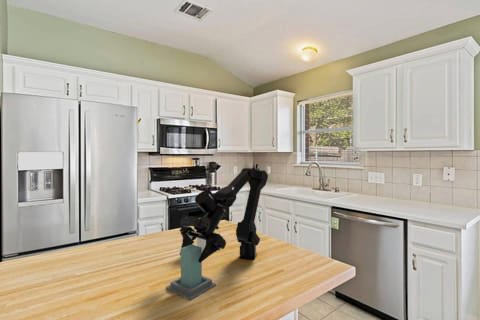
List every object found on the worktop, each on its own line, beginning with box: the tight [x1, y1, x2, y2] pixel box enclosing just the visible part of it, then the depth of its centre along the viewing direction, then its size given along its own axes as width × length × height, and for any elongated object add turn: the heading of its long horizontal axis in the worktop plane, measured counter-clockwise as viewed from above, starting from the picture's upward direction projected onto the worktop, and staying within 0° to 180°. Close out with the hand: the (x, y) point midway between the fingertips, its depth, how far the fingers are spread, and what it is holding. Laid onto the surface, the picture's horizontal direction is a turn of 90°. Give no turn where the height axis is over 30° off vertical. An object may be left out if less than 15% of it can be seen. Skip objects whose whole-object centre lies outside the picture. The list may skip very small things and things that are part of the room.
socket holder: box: [165, 275, 217, 301], centre depth 92 cm, size 12×12×2 cm
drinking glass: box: [195, 230, 206, 251], centre depth 125 cm, size 7×7×15 cm
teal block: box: [180, 244, 203, 289], centre depth 92 cm, size 5×5×13 cm
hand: (189, 258), depth 92 cm, fingers open, 9 cm apart
